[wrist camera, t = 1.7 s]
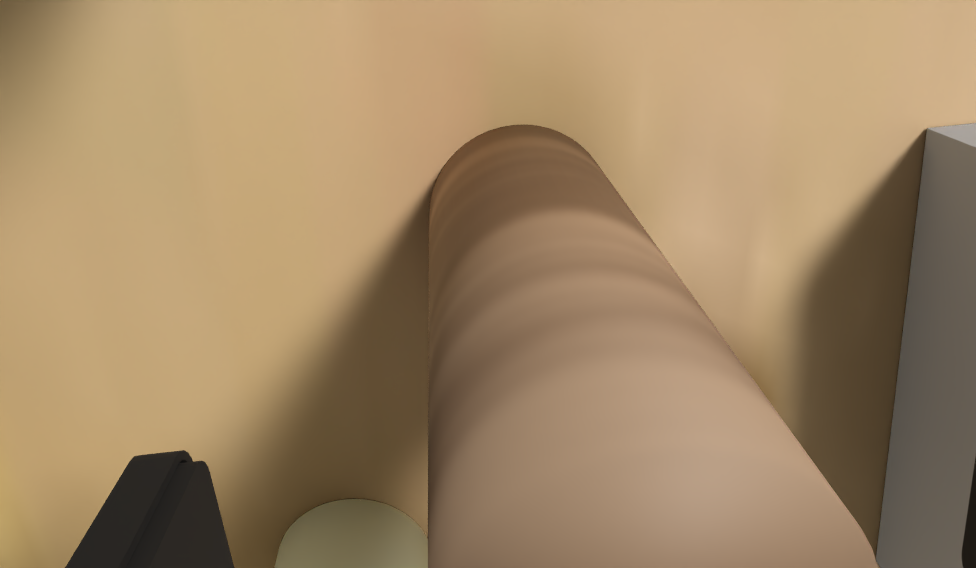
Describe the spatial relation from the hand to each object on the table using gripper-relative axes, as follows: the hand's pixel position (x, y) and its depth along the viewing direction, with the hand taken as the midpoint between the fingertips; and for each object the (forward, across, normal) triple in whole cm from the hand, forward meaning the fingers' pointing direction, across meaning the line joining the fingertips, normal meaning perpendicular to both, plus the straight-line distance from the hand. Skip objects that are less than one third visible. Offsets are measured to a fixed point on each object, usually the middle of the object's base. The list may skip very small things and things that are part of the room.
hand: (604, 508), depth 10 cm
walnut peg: (+9, 0, -1) cm, 9 cm away
